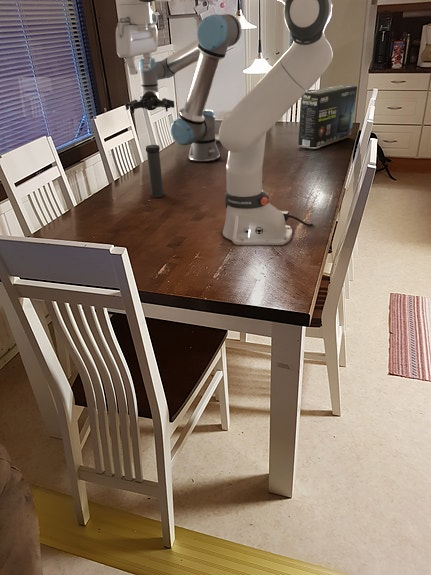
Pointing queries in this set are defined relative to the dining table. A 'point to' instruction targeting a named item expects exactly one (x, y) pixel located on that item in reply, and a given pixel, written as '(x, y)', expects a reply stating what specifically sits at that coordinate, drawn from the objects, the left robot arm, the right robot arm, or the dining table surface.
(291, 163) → the dining table surface
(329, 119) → the router box
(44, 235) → the dining table surface
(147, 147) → the lid
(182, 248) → the dining table surface
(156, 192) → the dark grey cylinder
